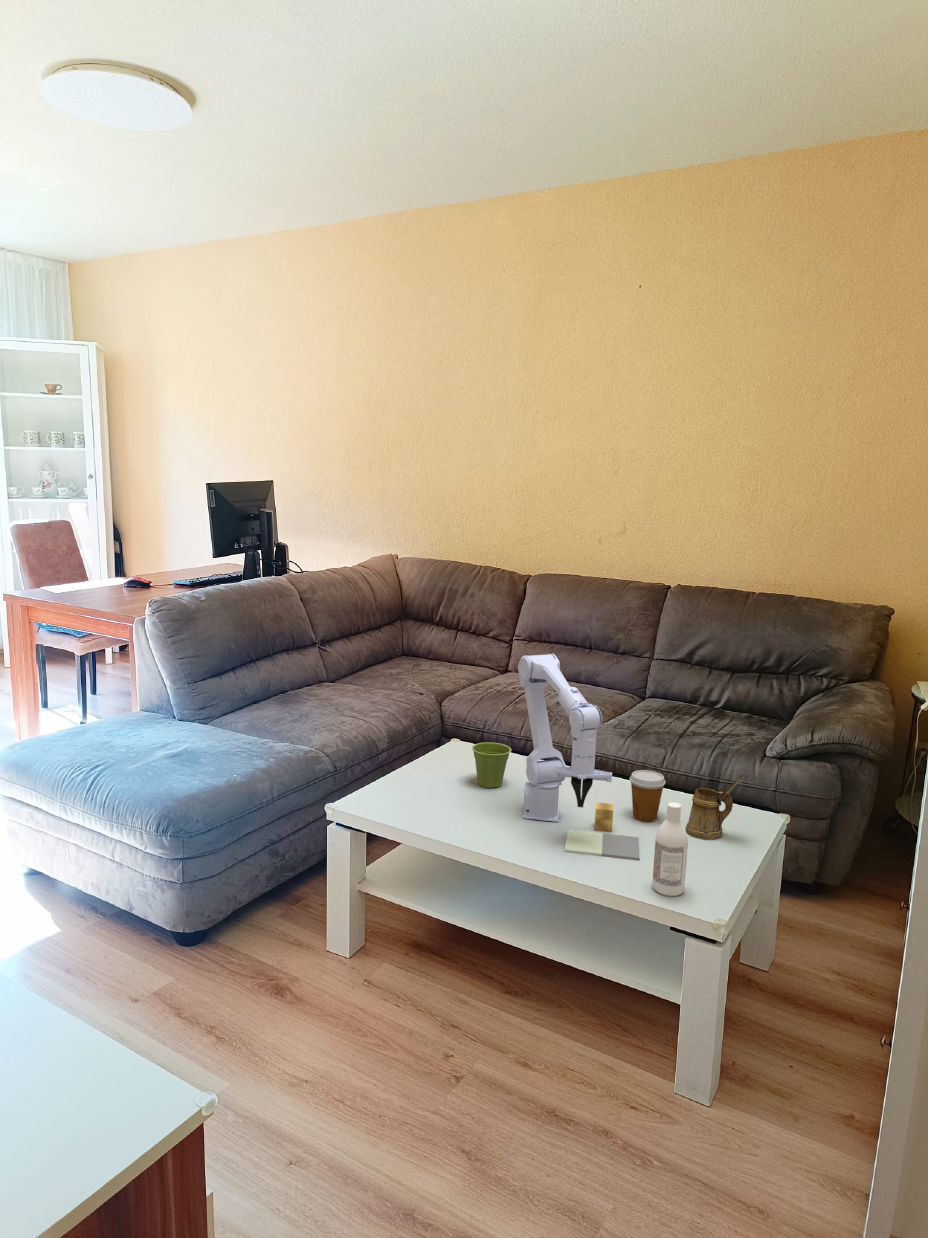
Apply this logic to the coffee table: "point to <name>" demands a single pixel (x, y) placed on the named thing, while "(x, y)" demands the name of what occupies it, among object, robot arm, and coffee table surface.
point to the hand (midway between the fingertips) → (580, 806)
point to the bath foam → (670, 854)
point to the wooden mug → (709, 812)
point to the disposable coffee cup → (646, 794)
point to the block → (603, 817)
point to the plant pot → (490, 763)
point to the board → (602, 844)
